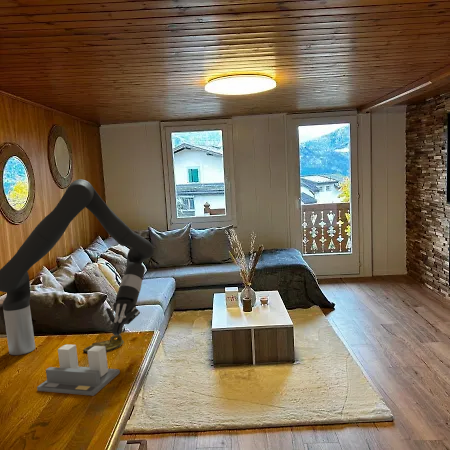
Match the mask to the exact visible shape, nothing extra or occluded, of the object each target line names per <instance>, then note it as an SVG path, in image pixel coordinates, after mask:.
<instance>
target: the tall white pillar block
mask: <svg viewBox="0 0 450 450" xmlns="http://www.w3.org/2000/svg"><path fill="white" fill-rule="evenodd" d="M87 359H88V360H87V361H88V367H89V370H99V373H100V377H102V376H103V375H104V374H106V373H107V372H108V369H109V366H108V360H107V352H106V348H105V346H94V347H92V348H91V349H89V350H88V351H87Z"/></svg>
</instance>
